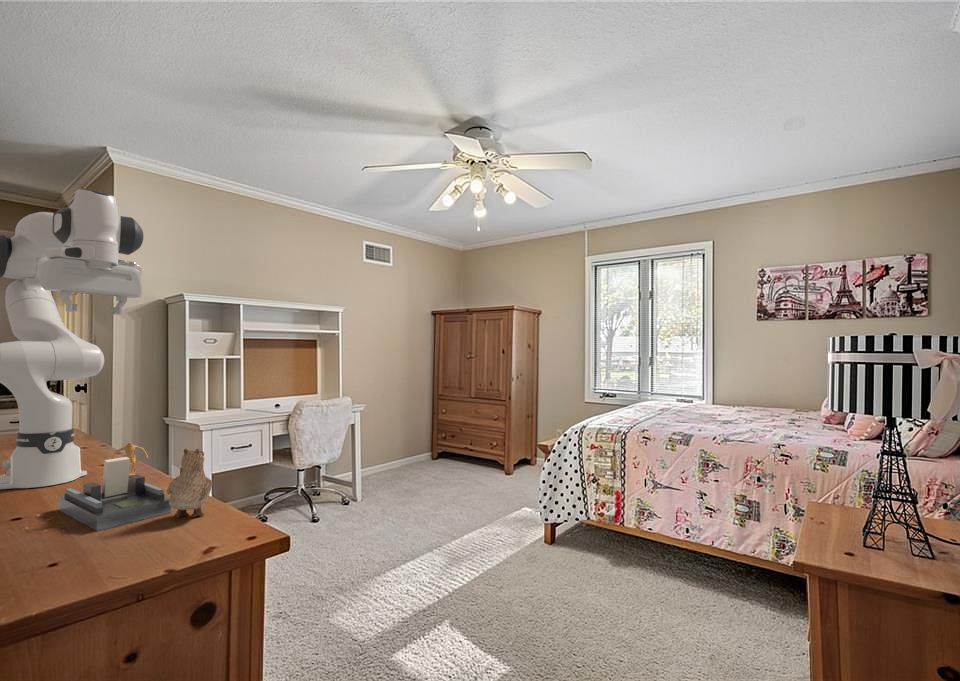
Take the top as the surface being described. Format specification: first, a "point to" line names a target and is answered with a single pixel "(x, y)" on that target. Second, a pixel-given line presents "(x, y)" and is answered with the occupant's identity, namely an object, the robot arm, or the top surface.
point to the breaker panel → (116, 506)
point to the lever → (115, 477)
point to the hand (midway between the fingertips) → (94, 313)
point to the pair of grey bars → (97, 505)
